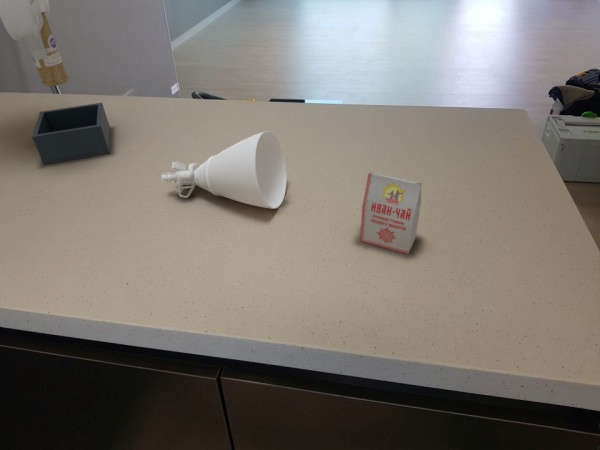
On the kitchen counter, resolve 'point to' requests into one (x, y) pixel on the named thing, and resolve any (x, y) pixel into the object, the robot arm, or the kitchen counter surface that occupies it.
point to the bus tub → (72, 133)
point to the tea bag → (390, 212)
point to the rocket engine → (239, 172)
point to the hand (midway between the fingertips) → (44, 53)
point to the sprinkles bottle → (49, 56)
